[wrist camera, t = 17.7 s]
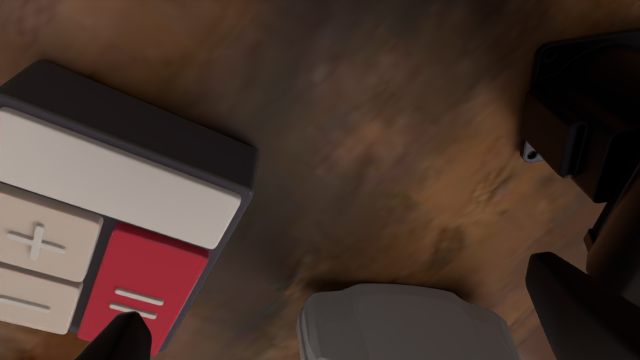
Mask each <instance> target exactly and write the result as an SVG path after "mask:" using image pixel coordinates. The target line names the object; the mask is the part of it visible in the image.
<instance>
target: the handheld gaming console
mask: <svg viewBox="0 0 640 360" xmlns="http://www.w3.org/2000/svg"><path fill="white" fill-rule="evenodd" d="M297 337H298V344H299V351H300V358H301V360H521V359H520V357H519V354H518V351H517V349H516V346H515V343H514V341H513V338H512V336H511V333H510V330H509V328H508V325H507V323H506V321H505V320H504V319H503V318H501V317H500V316H499V315H497V314H496V313H494V312H493V311H491V310H488V309H486V308H482V307H480V306H478V305H474V304H471V303H467V302H466V301H464V300H462V299H461V298H459V297H458V296H457V295H455V294H454V293H452V292H448V291H444V290H439V289H433V288H427V287H419V286H411V285H399V284H357V285H354V286H352V287H349V288H347V289H344V290H341V291H332V292H320V293H313V294H312V295H311V296H310V297H309V298H308V299H307V300H306V302H305V304H304V307H303V308H302V309H301V311H300V313H299V316H298V320H297Z"/></svg>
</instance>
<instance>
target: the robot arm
mask: <svg viewBox="0 0 640 360" xmlns="http://www.w3.org/2000/svg"><path fill="white" fill-rule="evenodd" d="M549 50H551V53H550V55H549V56H548V57H546V58H544V56H545V53H546V52H547V51H549ZM520 135H521V136H522V142H521V149H520V156H521V157H522V158H523V160H524V161H525V162H528V163H532V162H538V161H546V162H547V163H548V164H549V165H550V167H551V168H552V169H553V170H554V171H555V172H556V173H557V174H558V175H559V176H561V177H562V178H567V177H570V178H571V179H572V180H573V181H574V182H575V183H576V184H577V185H578V186H579V187H580V188H581V189H582V190H583V191H584V193H585V194H586V195H587V196H588V197H589V198H590V199H591V200H592V201H593V202H595V203H604V202H607V204H606V205H605V207H604V209H603V211H602V212H601V214H600V216H599V218H598V219H597V221H596V223H595V225H594V226H593V228H591V229H589V230H588V231H587V233H586V235H585V237H584V242H585V245H586V248H587V251H588V254H587V263H586V270H587V273H588V274H586V273H584V272H583V271H581V270H580V269H578V268H576V267H575V266H573V265H572V264H570V263H569V262H567V261H565V260H564V259H562V258H561V257H559V256H557V255H556V254H554V253H552V252H541V253H534V254H532V255H531V256H530V258H529V263H528V268H527V273H526V278H525V282H526V287H527V290H528V292H529V295H530V297H531V300H532V302H533V305H534V307H535V310H536V312H537V314H538V317H539V319H540V322H541V324H542V327H543V329H544V332H545V334H546V336H547V339H548V341H549V344H550V346H551V348H552V351H553V353H554V355H555V357H556V359H557V360H640V28H634V29H628V30H622V31H615V32H609V33H603V34H596V35H590V36H584V37H577V38H571V39H565V40H558V41H552V42H547V43H544V44H542V45H541V46H539V48H538V49H537V50H536V53H535V58H534V64H533V71H532V77H531V84H530V88H529V89H528V91H527V92H526V97H525V104H524V110H523V117H522V124H521V130H520ZM531 151H533V153H532V154H530V155H528V154H529V153H530V152H531ZM151 345H152V335H151V332H150V330H149V328H148V327H147V325H146V323H145V322H144V320H143V318H142V317H141V315H140V314H139V313H138V312H137V311H130V312H123V313H119V314H118V315H116V316H115V317H114V318H113V319H112V320H111V321H110V322H109V324H108V325H107V326H106V327H105V328H104V329H103V330H102V331H101V332H100V333H99V334H98V335H97V336H96V337H95V339H94V340H93V341H92V342H91V343H90V344H89V345H88V346H87V347H86V348H85V349H84V350H83V351H82V352H81V353H80V355H79V356H78V357H77V358H76V359H75V360H150V353H151Z"/></svg>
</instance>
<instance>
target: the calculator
mask: <svg viewBox="0 0 640 360" xmlns="http://www.w3.org/2000/svg"><path fill="white" fill-rule="evenodd" d="M258 161H259V153H258V151H257V150H256V149H255V148H253V147H250V146H248V145H246V144H243V143H241V142H238V141H236V140H234V139H231V138H229V137H226V136H224V135H222V134H219V133H217V132H215V131H212V130H210V129H207V128H205V127H203V126H200V125H198V124H195V123H193V122H191V121H188V120H186V119H183V118H181V117H179V116H176V115H174V114H171V113H169V112H167V111H164V110H162V109H159V108H157V107H155V106H152V105H150V104H147V103H145V102H143V101H140V100H138V99H135V98H133V97H131V96H128V95H126V94H123V93H121V92H119V91H116V90H114V89H111V88H109V87H107V86H104V85H102V84H99V83H97V82H95V81H92V80H90V79H87V78H85V77H83V76H80V75H78V74H76V73H73V72H71V71H68V70H66V69H64V68H61V67H59V66H56V65H54V64H51V63H49V62H46V61H43V60H37V61H35V62H34V63H32V64H31V65H29V66H28V67H27V68H25V69H24V70H22V71H21V72H20V73H18V74H17V75H16V76H14V77H13V78H12V79H10V80H9V81H7V82H6V83H5V84H3V85H2V86H1V87H0V320H1V321H6V322H10V323H14V324H19V325H23V326H27V327H32V328H36V329H40V330H44V331H49V332H53V333H57V334H65V333H66V332H67V331H71V332H75V333H77V337H78V338H80V339H83V340H87V341H93V340H94V339H95V337H96V336H97V335H98V334H99V333H100V332H101V331H102V330H103V329H104V328H105V327H106V326H107V325H108V324H109V322H110V321H111V320H112V319H113V318H114V317H115V316H116V315H118V314H119V313H123V312H130V311H137V312H138V313H139V314H140V315H141V317H142V318H143V320H144V322H145V323H146V325H147V327H148V328H149V330H150V332H151V335H152V345H151V353H150V355H156V354H157V353H158V352H163V351H165V350H166V348H167V347H168V345H169V343H170V342H171V340H172V338H173V336H174V335H175V333H176V331H177V329H178V328H179V326H180V324H181V322H182V321H183V319H184V317H185V315H186V314H187V312H188V310H189V308H190V306H191V305H192V303H193V301H194V299H195V298H196V296H197V294H198V292H199V291H200V289H201V287H202V285H203V284H204V282H205V280H206V278H207V277H208V275H209V273H210V271H211V270H212V268H213V266H214V264H215V263H216V261H217V259H218V257H219V256H220V254H221V252H222V250H223V249H224V247H225V245H226V243H227V242H228V240H229V238H230V236H231V235H232V233H233V231H234V229H235V228H236V226H237V224H238V222H239V221H240V219H241V217H242V215H243V214H244V212H245V210H246V208H247V207H248V205H249V203H250V201H251V199H252V197H253V194H254V188H255V181H256V174H257V168H258Z"/></svg>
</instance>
